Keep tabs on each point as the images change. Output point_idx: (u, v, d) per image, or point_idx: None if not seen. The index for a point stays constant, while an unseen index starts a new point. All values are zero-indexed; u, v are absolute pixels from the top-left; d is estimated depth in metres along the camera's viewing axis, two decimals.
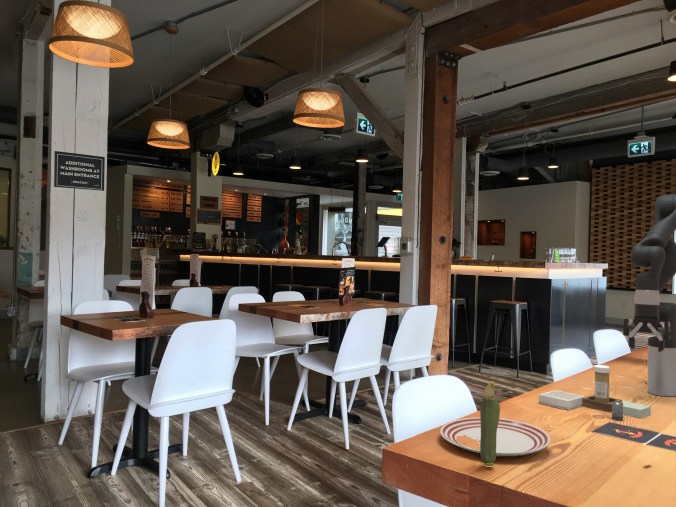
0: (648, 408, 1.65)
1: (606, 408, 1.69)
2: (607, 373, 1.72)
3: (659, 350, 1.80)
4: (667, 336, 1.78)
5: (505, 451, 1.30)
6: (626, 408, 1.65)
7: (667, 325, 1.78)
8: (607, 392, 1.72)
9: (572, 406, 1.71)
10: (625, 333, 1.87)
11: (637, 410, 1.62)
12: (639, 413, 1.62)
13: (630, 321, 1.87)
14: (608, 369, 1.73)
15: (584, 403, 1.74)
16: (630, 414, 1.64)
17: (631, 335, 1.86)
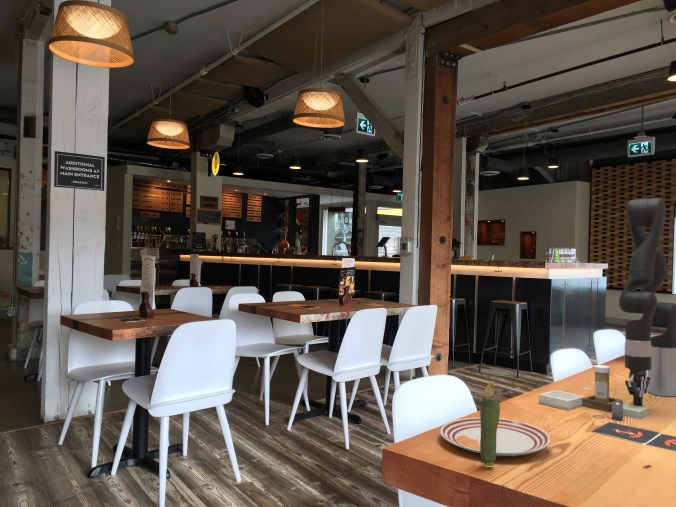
0: (646, 410, 1.64)
1: (606, 408, 1.69)
2: (607, 373, 1.72)
3: None
4: (646, 390, 1.70)
5: (505, 451, 1.30)
6: (625, 410, 1.64)
7: (649, 381, 1.72)
8: (607, 392, 1.72)
9: (572, 406, 1.71)
10: (638, 393, 1.67)
11: (636, 412, 1.62)
12: (638, 415, 1.61)
13: (633, 381, 1.66)
14: (608, 369, 1.73)
15: (584, 403, 1.74)
16: (629, 416, 1.63)
17: (641, 394, 1.68)
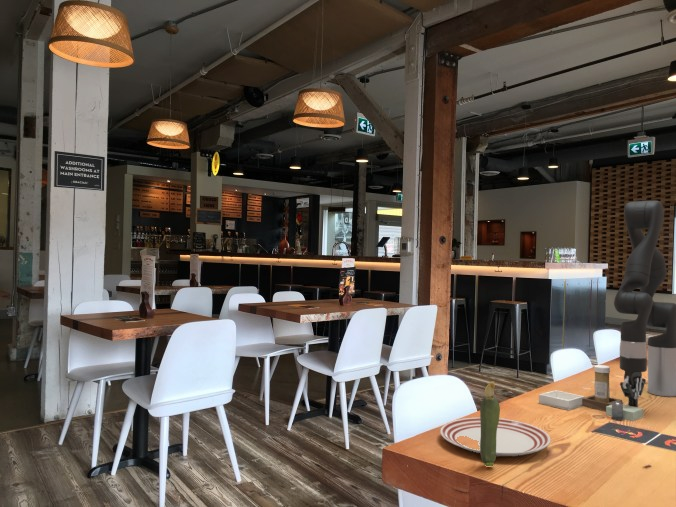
0: (640, 410, 1.62)
1: None
2: (607, 373, 1.72)
3: None
4: (641, 392, 1.68)
5: (505, 451, 1.30)
6: None
7: (644, 382, 1.70)
8: (607, 392, 1.72)
9: (572, 406, 1.71)
10: (633, 395, 1.65)
11: (629, 412, 1.60)
12: (631, 415, 1.59)
13: (628, 382, 1.64)
14: (608, 369, 1.73)
15: (584, 403, 1.74)
16: None
17: (636, 395, 1.66)
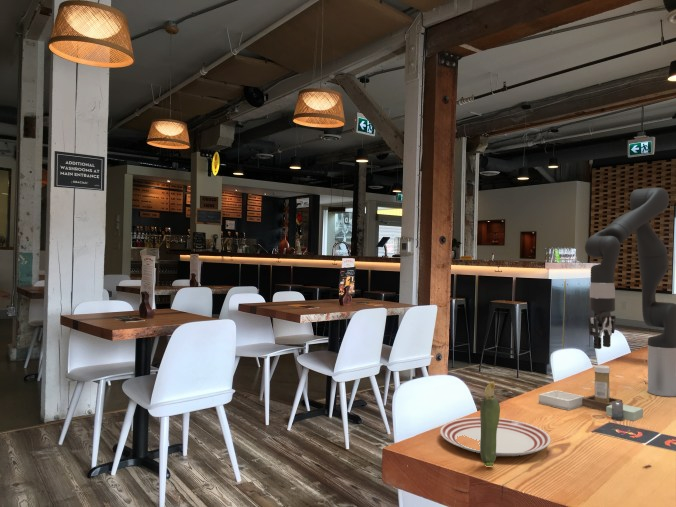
0: (640, 410, 1.62)
1: None
2: (607, 373, 1.72)
3: (609, 345, 1.76)
4: (614, 330, 1.77)
5: (505, 451, 1.30)
6: None
7: (614, 319, 1.78)
8: (607, 392, 1.72)
9: (572, 406, 1.71)
10: (598, 333, 1.71)
11: (630, 412, 1.60)
12: (632, 416, 1.59)
13: None
14: (608, 369, 1.73)
15: (584, 403, 1.74)
16: None
17: (601, 334, 1.72)
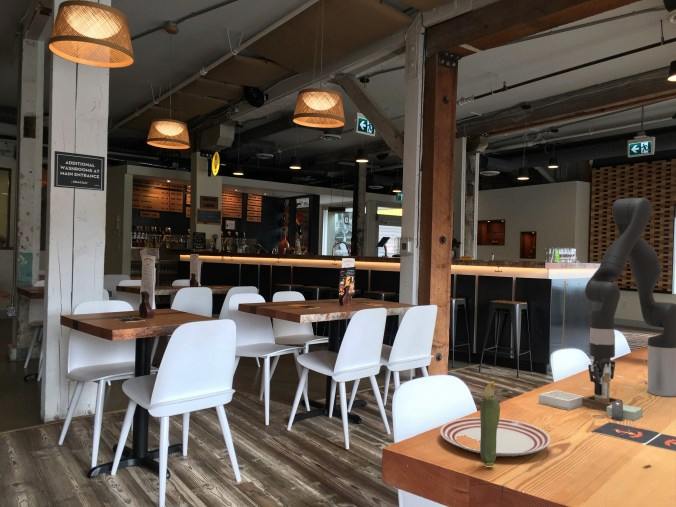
0: (640, 410, 1.63)
1: (606, 408, 1.69)
2: (607, 373, 1.72)
3: None
4: (613, 376, 1.76)
5: (505, 451, 1.30)
6: None
7: (614, 365, 1.77)
8: (607, 392, 1.72)
9: (572, 406, 1.71)
10: (598, 380, 1.71)
11: (630, 412, 1.60)
12: (632, 415, 1.59)
13: (596, 366, 1.71)
14: (608, 369, 1.73)
15: (584, 403, 1.74)
16: (623, 417, 1.61)
17: (601, 381, 1.72)
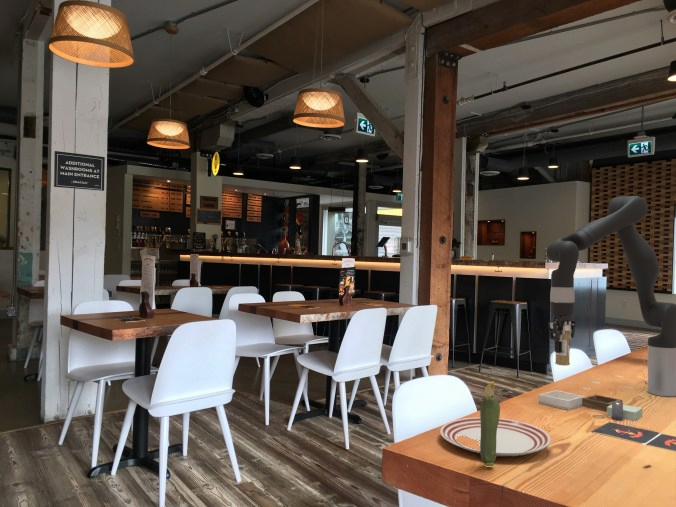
0: (640, 410, 1.63)
1: (606, 408, 1.69)
2: (567, 331, 1.75)
3: None
4: (573, 334, 1.79)
5: (505, 451, 1.30)
6: None
7: (575, 324, 1.80)
8: (567, 349, 1.75)
9: (572, 406, 1.71)
10: (558, 337, 1.73)
11: (631, 412, 1.60)
12: (633, 415, 1.59)
13: None
14: (568, 327, 1.75)
15: (584, 403, 1.74)
16: (624, 417, 1.61)
17: (561, 338, 1.75)
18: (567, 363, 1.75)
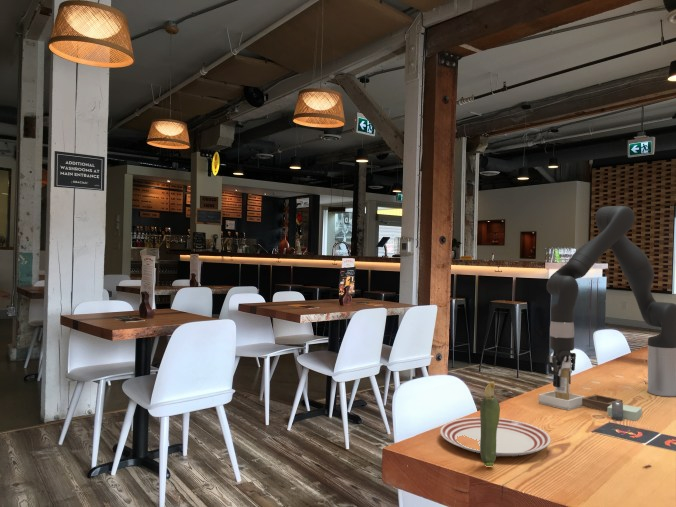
0: (640, 410, 1.63)
1: (606, 408, 1.69)
2: (567, 368, 1.75)
3: (569, 383, 1.78)
4: (574, 367, 1.80)
5: (505, 451, 1.30)
6: None
7: (575, 356, 1.80)
8: (567, 387, 1.75)
9: (572, 406, 1.71)
10: (556, 372, 1.73)
11: (632, 413, 1.60)
12: (634, 416, 1.59)
13: None
14: (568, 365, 1.75)
15: (584, 403, 1.74)
16: (624, 417, 1.61)
17: (559, 373, 1.74)
18: None
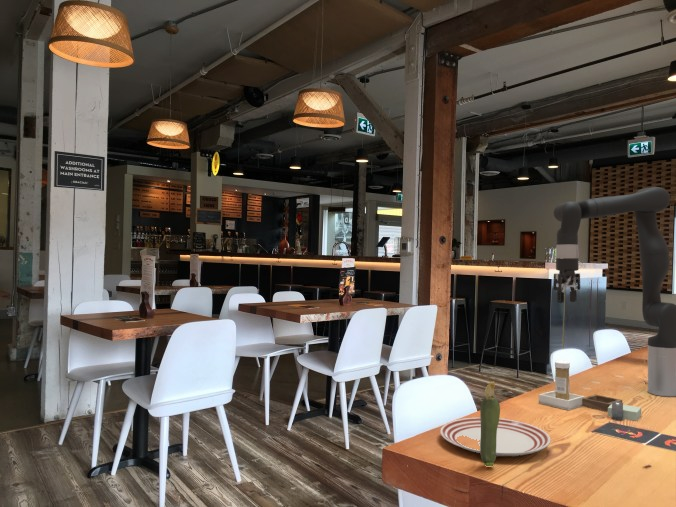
0: (640, 409, 1.63)
1: (606, 408, 1.69)
2: (567, 368, 1.75)
3: (575, 300, 1.93)
4: (579, 286, 1.94)
5: (505, 451, 1.30)
6: None
7: (579, 276, 1.94)
8: (567, 387, 1.75)
9: (572, 406, 1.71)
10: (560, 288, 1.86)
11: (633, 413, 1.60)
12: (635, 415, 1.59)
13: None
14: (568, 365, 1.75)
15: (584, 403, 1.74)
16: (625, 417, 1.61)
17: (563, 289, 1.87)
18: None
